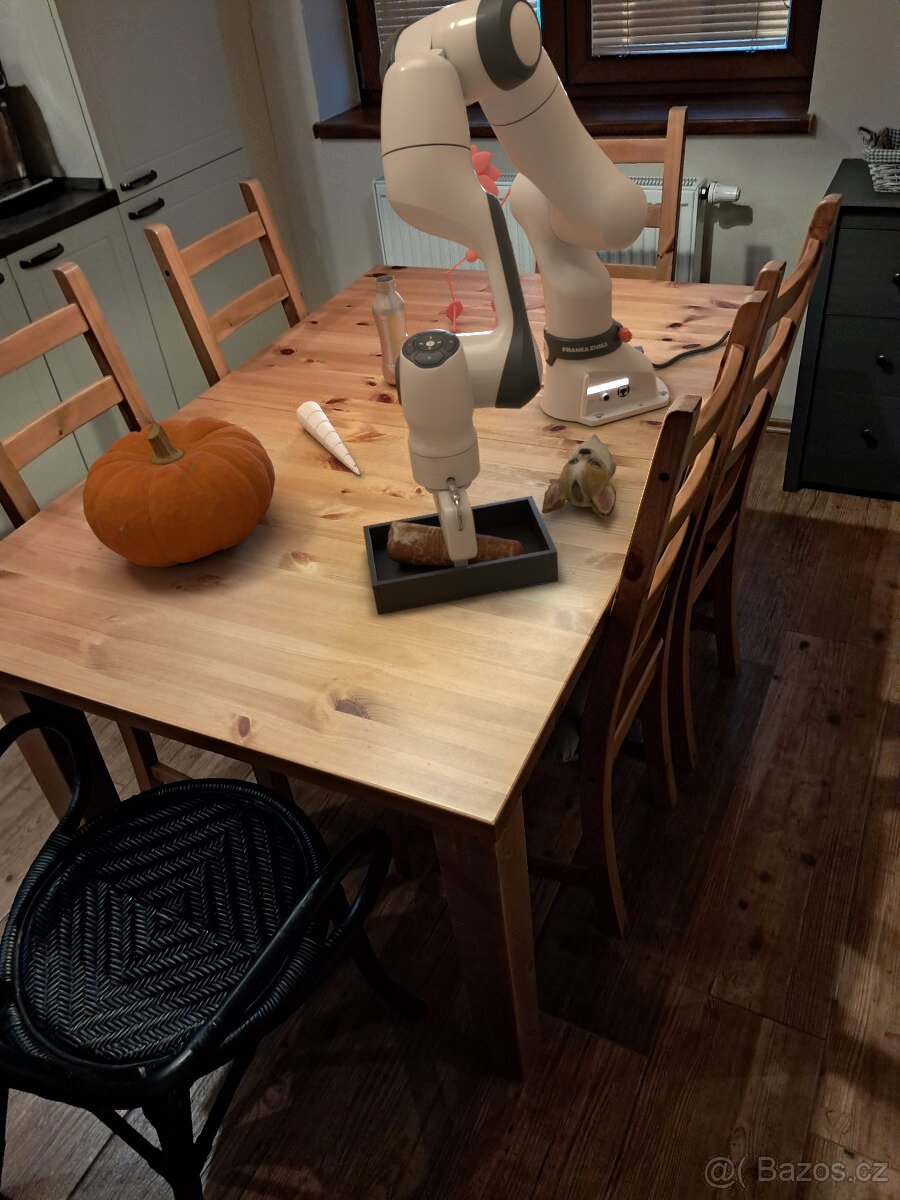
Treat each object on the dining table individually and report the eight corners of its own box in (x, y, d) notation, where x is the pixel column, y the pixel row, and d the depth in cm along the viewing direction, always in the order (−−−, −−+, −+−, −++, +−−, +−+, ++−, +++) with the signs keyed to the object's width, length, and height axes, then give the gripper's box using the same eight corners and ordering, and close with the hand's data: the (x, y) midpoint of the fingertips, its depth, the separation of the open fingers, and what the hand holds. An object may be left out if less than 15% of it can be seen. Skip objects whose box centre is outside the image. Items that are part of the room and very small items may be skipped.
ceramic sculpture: (630, 426, 134) (609, 484, 124) (630, 475, 140) (611, 534, 130) (560, 422, 138) (534, 478, 128) (563, 470, 144) (539, 527, 134)
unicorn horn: (338, 484, 148) (333, 458, 145) (298, 428, 166) (292, 404, 163) (365, 475, 150) (360, 450, 147) (322, 420, 167) (317, 396, 164)
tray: (533, 523, 133) (531, 495, 130) (558, 581, 122) (557, 552, 119) (368, 553, 132) (362, 526, 129) (377, 614, 120) (372, 586, 117)
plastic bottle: (421, 374, 178) (407, 272, 166) (409, 389, 174) (394, 286, 161) (391, 373, 181) (375, 272, 168) (378, 388, 176) (361, 285, 163)
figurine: (535, 333, 188) (525, 150, 166) (416, 334, 195) (392, 158, 173) (547, 305, 199) (540, 130, 178) (435, 307, 206) (414, 138, 185)
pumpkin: (203, 613, 125) (158, 488, 113) (66, 570, 137) (12, 454, 125) (322, 506, 144) (295, 389, 131) (192, 477, 156) (156, 368, 143)
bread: (399, 545, 131) (393, 513, 128) (529, 555, 126) (526, 521, 122) (385, 571, 126) (379, 538, 123) (519, 582, 121) (516, 548, 118)
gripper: (484, 498, 108) (493, 589, 117) (456, 421, 125) (466, 506, 133) (432, 507, 108) (445, 597, 117) (411, 429, 124) (424, 514, 133)
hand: (456, 548), depth 125 cm, fingers closed on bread, 6 cm apart
